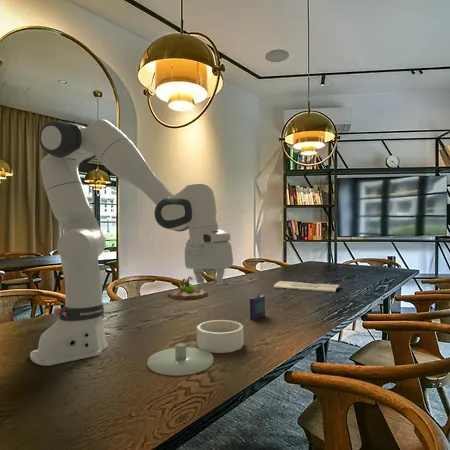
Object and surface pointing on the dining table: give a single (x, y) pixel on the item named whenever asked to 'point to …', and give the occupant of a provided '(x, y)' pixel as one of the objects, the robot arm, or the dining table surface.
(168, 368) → the lid
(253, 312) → the flask
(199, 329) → the bowl
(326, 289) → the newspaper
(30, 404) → the dining table surface
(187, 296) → the plant
